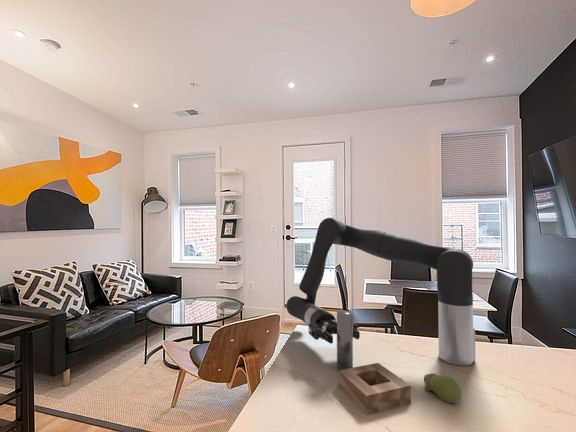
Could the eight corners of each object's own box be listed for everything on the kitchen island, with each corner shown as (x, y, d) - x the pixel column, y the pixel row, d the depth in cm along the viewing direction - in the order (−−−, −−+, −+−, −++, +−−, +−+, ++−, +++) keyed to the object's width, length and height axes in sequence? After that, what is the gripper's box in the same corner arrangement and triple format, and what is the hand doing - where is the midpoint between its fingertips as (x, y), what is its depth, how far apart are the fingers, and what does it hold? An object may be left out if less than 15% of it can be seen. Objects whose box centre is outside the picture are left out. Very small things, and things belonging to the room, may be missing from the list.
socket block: (378, 377, 82) (378, 362, 82) (410, 402, 71) (410, 385, 71) (338, 386, 78) (338, 370, 78) (366, 414, 67) (366, 395, 67)
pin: (347, 364, 89) (347, 309, 90) (355, 371, 85) (355, 314, 85) (334, 367, 88) (334, 311, 88) (342, 374, 84) (342, 315, 84)
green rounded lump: (445, 383, 69) (416, 369, 79) (448, 408, 68) (419, 392, 78) (465, 379, 70) (435, 367, 80) (469, 405, 69) (438, 389, 79)
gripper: (299, 311, 99) (322, 327, 84) (338, 306, 104) (366, 321, 89) (299, 334, 99) (322, 355, 84) (338, 329, 104) (366, 347, 89)
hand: (345, 337), depth 86 cm, fingers open, 8 cm apart
